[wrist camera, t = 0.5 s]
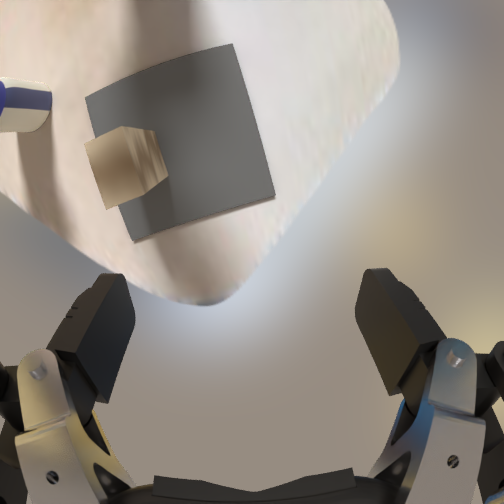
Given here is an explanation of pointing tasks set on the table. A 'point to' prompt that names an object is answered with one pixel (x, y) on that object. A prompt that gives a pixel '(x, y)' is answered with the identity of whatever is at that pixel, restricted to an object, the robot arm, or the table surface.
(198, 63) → the rubber mat
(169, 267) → the table surface
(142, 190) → the tan two-tone tall block
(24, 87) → the water bottle
